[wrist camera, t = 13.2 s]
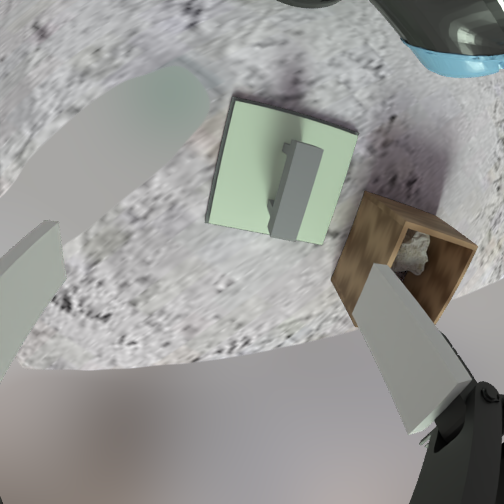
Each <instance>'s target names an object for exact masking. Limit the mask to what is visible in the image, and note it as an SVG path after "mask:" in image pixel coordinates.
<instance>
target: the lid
mask: <svg viewBox="0 0 504 504" xmlns="http://www.w3.org/2000/svg"><path fill="white" fill-rule="evenodd" d="M357 138H358V136H357V135H354V134H351V133H348V132H346V131H343V130H340V129H337V128H334V127H331V126H328V125H325V124H322V123H319V122H316V121H312V120H309V119H306V118H302V117H299V116H296V115H292V114H288V113H285V112H281V111H277V110H273V109H269V108H265V107H261V106H257V105H253V104H248V103H244V102H239V101H235V105H234V109H233V113H232V117H231V122H230V126H229V130H228V134H227V139H226V143H225V147H224V152H223V156H222V161H221V165H220V170H219V174H218V179H217V184H216V189H215V193H214V198H213V203H212V208H211V213H210V218H209V223H211V224H217V225H222V226H227V227H233V228H238V229H243V230H249V231H254V232H259V233H264V234H269V235H270V237H273V238H278V239H283V240H288V241H293V242H296V240H300V241H305V242H310V243H315V244H319V245H322V244H323V241H324V238H325V236H326V233H327V230H328V227H329V224H330V221H331V219H332V216H333V213H334V210H335V207H336V204H337V201H338V198H339V195H340V192H341V189H342V186H343V183H344V180H345V177H346V174H347V171H348V167H349V164H350V161H351V158H352V155H353V151H354V148H355V145H356V141H357Z"/></svg>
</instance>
